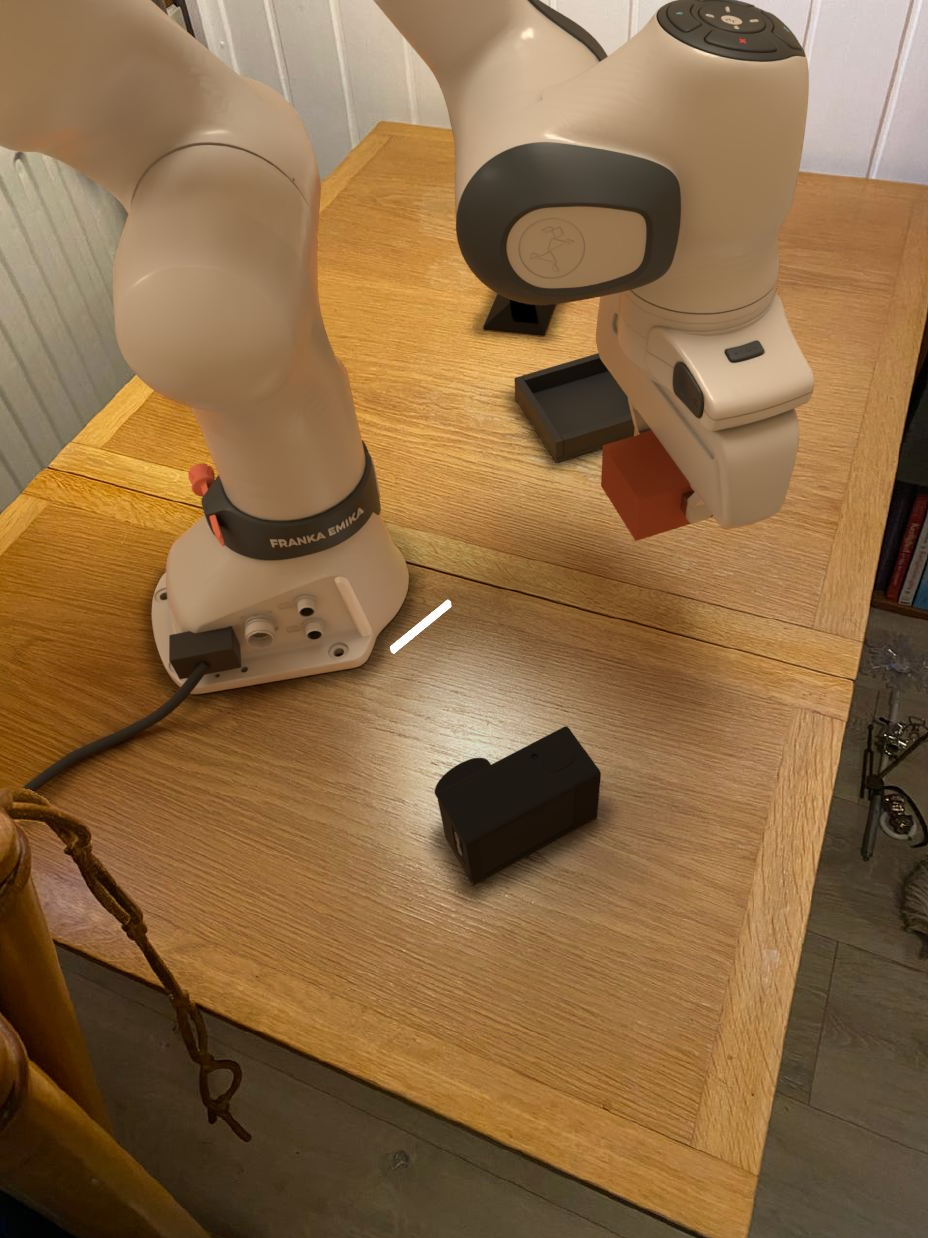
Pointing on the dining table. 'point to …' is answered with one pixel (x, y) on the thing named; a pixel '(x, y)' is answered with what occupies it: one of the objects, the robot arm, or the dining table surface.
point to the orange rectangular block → (644, 485)
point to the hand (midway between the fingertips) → (671, 480)
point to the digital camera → (517, 802)
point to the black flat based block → (518, 317)
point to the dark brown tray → (575, 407)
